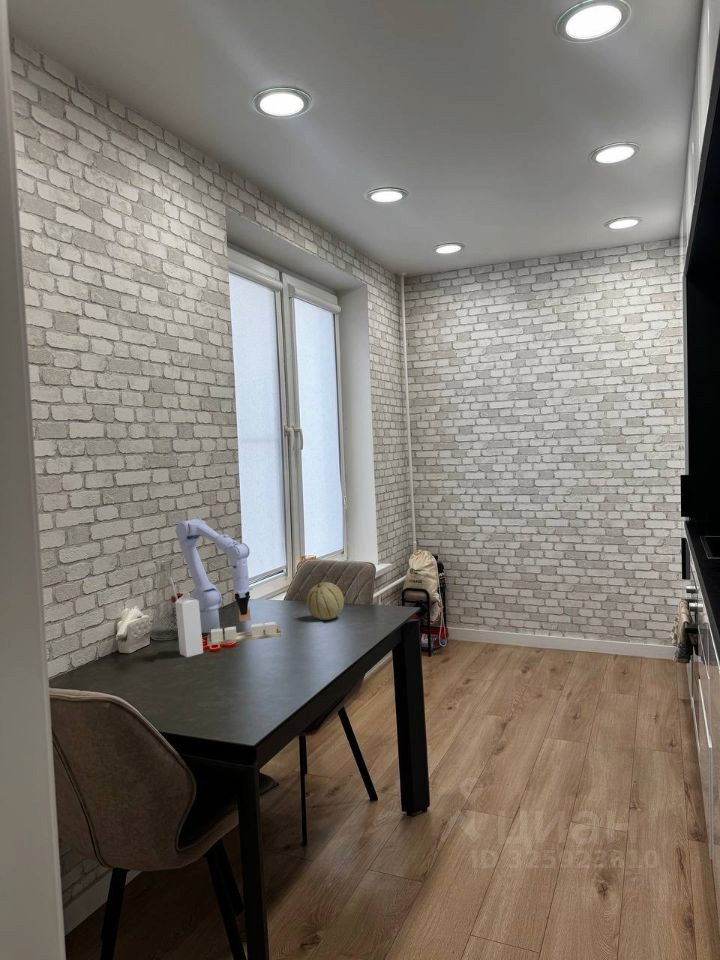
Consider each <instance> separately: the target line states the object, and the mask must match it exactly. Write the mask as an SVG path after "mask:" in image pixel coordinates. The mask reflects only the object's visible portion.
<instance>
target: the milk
mask: <svg viewBox="0 0 720 960" xmlns="http://www.w3.org/2000/svg"><path fill="white" fill-rule="evenodd" d="M174 603H175V612H176V613H175V614H176V623H177V626H176V627H177V635H178V637H177V638H178V645H179V648H178V649H179V655H181V656H183V657H185V658H190V657H193V656H197V655H201V654H204V647H203V635H202V633H201V622H200V611H199V601H198V600H196V599H193V597H191V593H190V592H188V591H185V590H182V596H180V597H179V598H178V599H176V601H175V602H174Z"/></svg>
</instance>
